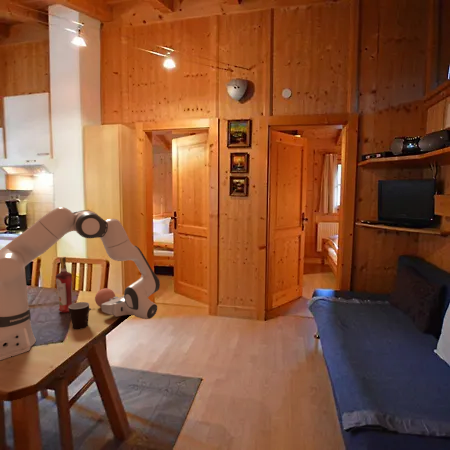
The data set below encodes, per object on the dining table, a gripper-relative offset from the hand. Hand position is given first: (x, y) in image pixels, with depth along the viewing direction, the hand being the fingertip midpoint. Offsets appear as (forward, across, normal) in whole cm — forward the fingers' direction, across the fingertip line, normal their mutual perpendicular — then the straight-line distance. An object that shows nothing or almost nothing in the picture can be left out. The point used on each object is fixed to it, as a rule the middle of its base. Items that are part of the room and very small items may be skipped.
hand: (111, 299), depth 170 cm
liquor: (+17, +14, +5) cm, 23 cm away
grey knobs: (+10, 0, +5) cm, 11 cm away
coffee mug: (-5, +20, +5) cm, 21 cm away
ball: (+5, 0, 0) cm, 5 cm away
